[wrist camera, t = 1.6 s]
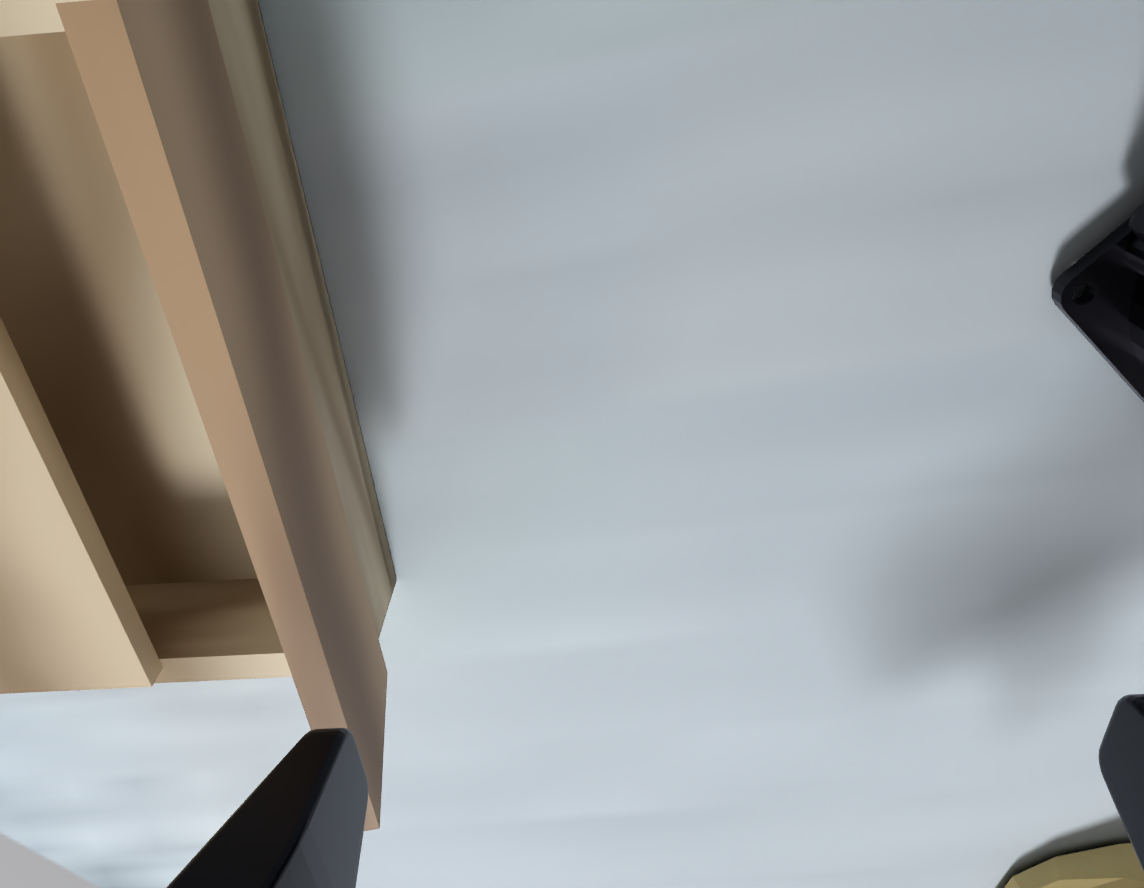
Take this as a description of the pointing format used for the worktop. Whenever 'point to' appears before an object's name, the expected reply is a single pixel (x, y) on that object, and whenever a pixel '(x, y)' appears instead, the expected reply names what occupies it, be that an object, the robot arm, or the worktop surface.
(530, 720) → the worktop surface
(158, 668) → the plywood box
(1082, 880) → the toy
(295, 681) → the flap
